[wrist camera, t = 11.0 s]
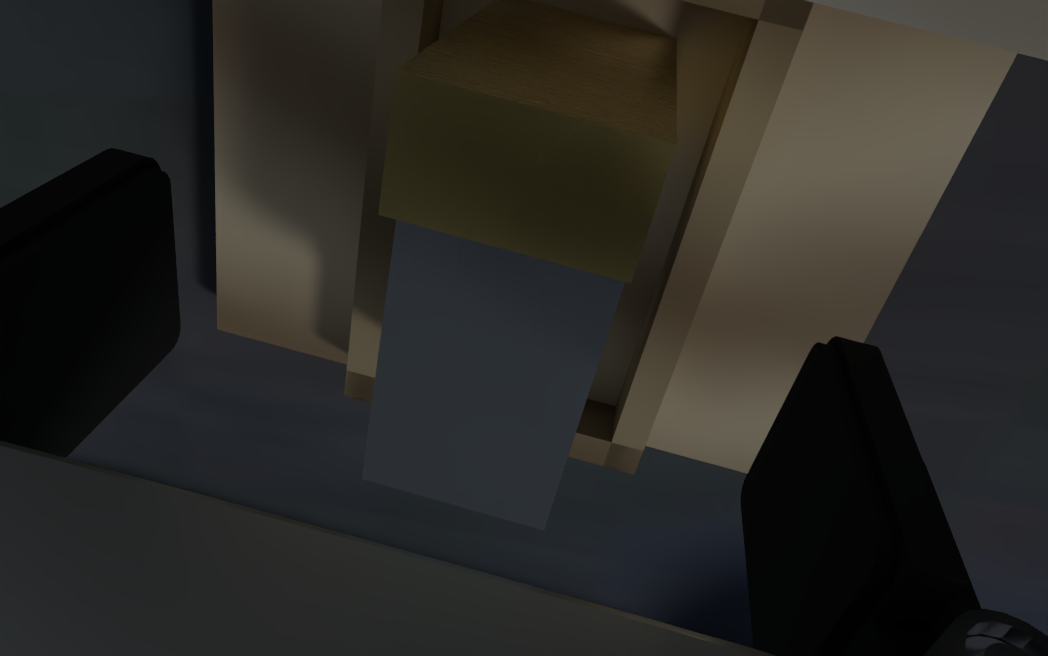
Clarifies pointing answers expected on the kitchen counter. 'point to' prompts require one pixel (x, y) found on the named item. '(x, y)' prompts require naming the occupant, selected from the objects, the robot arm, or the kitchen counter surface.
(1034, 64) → the kitchen counter surface
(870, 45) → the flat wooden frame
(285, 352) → the kitchen counter surface
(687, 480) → the kitchen counter surface
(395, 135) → the latch bar
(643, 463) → the kitchen counter surface
